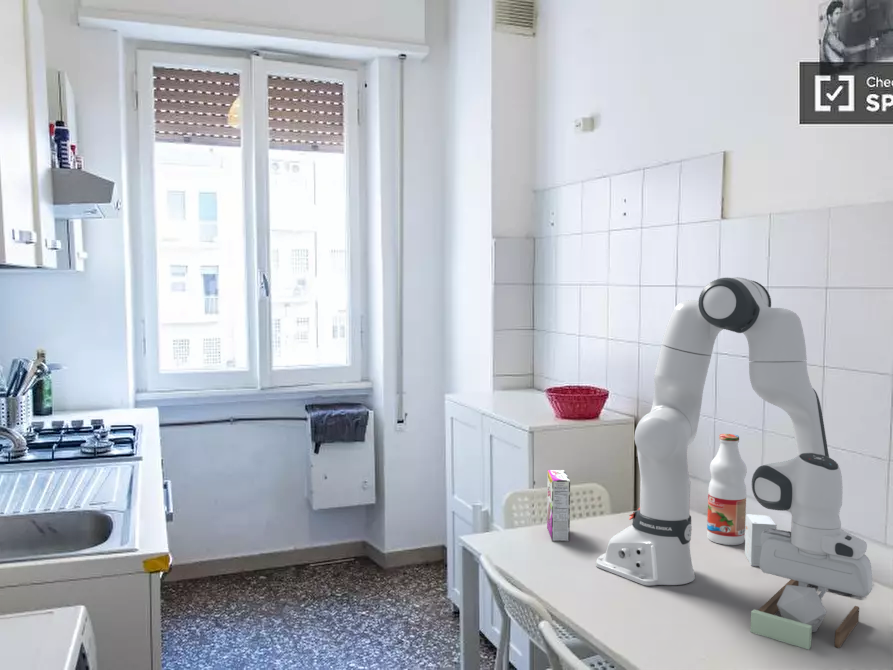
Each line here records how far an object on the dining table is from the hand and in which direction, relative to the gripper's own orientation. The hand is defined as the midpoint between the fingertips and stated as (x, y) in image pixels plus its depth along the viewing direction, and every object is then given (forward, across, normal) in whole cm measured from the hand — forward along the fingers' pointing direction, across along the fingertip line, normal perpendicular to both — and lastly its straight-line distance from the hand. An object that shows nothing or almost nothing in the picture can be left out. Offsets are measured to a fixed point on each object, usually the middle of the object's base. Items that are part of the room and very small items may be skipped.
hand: (812, 605), depth 149 cm
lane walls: (+3, 0, +3) cm, 5 cm away
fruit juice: (+4, -31, +38) cm, 49 cm away
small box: (+4, -19, +27) cm, 34 cm away
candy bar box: (+4, -66, +11) cm, 67 cm away
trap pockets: (+3, -2, +25) cm, 25 cm away
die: (+4, -1, -4) cm, 6 cm away
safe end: (+3, -2, -12) cm, 13 cm away
